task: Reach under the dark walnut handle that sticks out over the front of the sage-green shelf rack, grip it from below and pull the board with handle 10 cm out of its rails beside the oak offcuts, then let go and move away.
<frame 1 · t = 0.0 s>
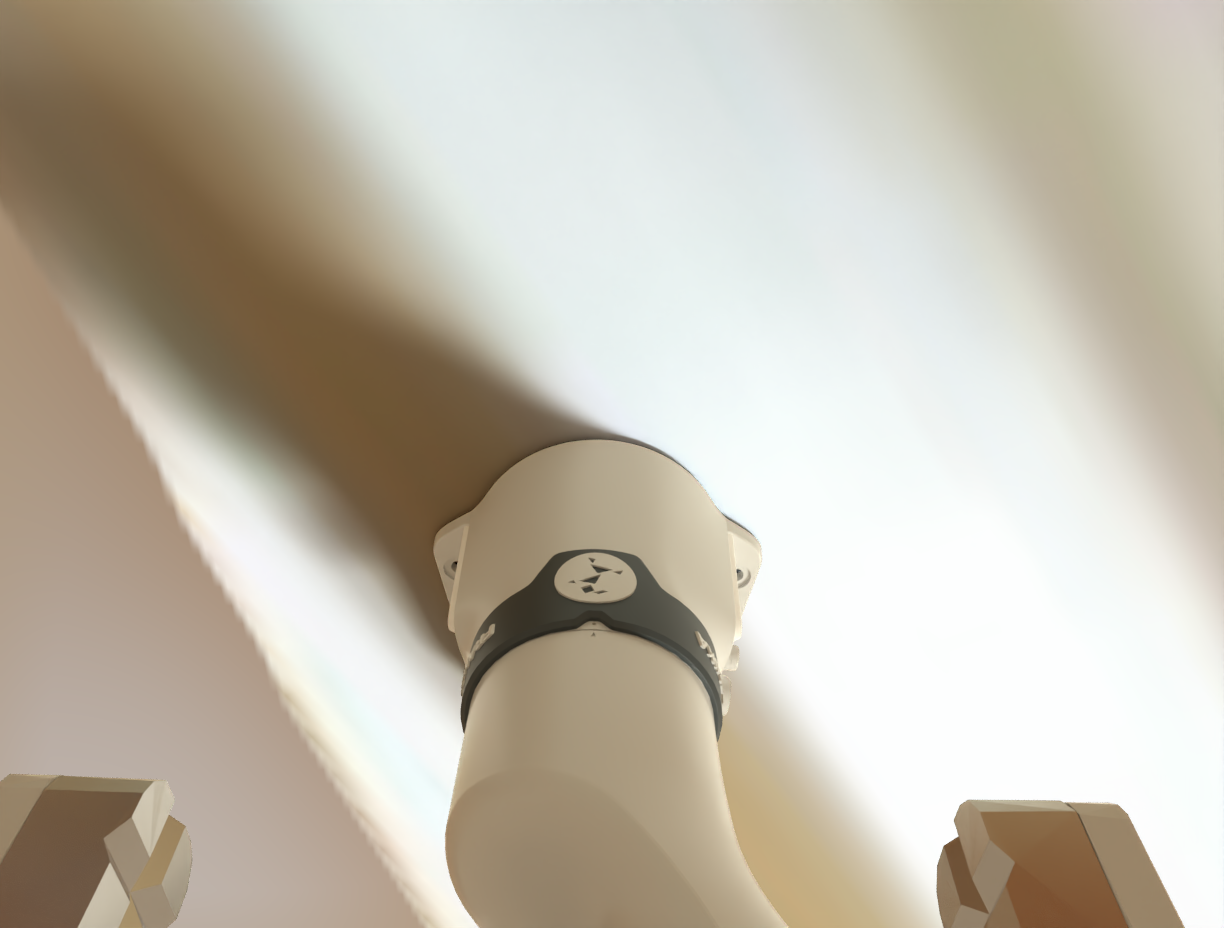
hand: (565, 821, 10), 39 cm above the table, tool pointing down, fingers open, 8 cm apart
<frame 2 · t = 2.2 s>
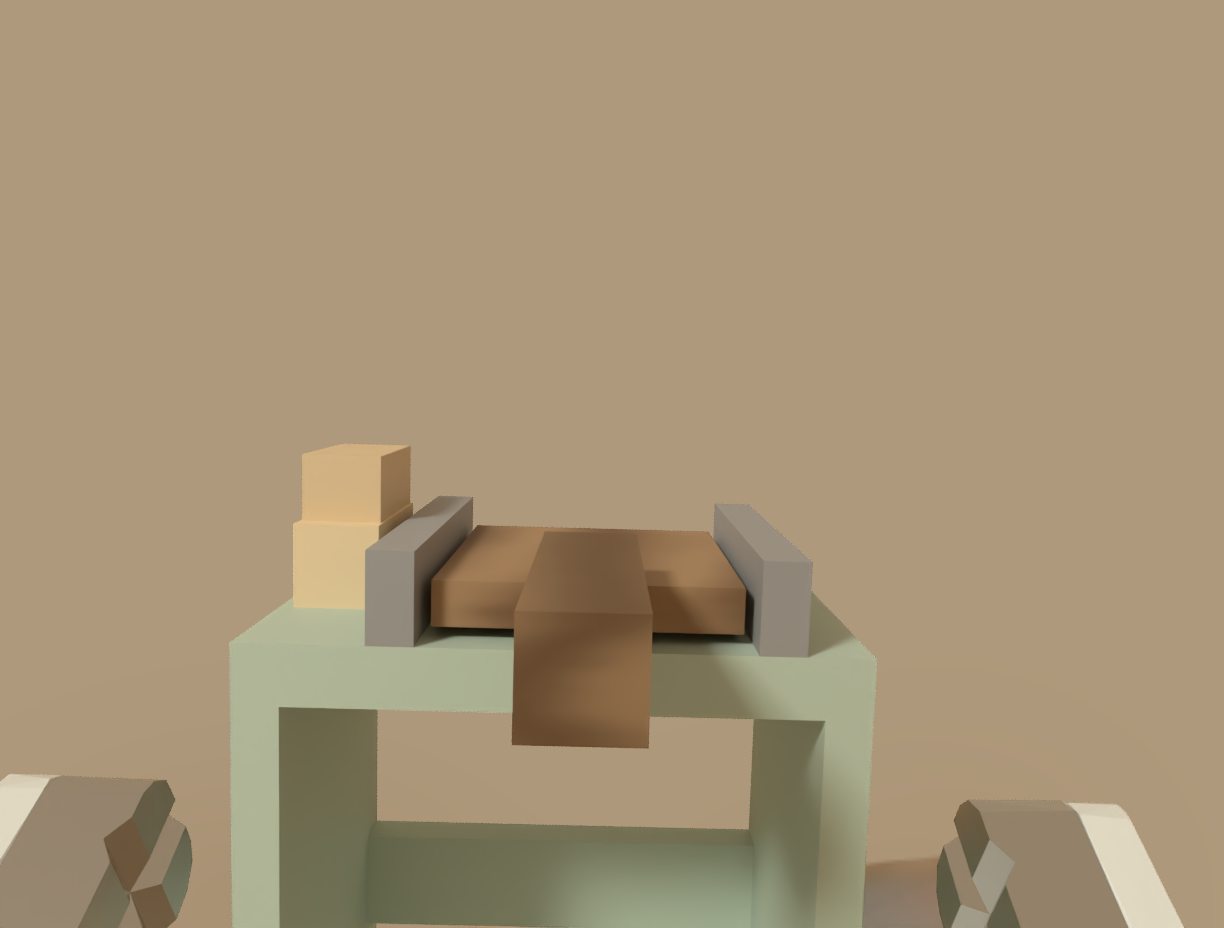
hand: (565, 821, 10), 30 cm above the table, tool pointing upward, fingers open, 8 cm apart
board with handle: (589, 579, 31), point 28 cm above the table, slide at 0.0 cm
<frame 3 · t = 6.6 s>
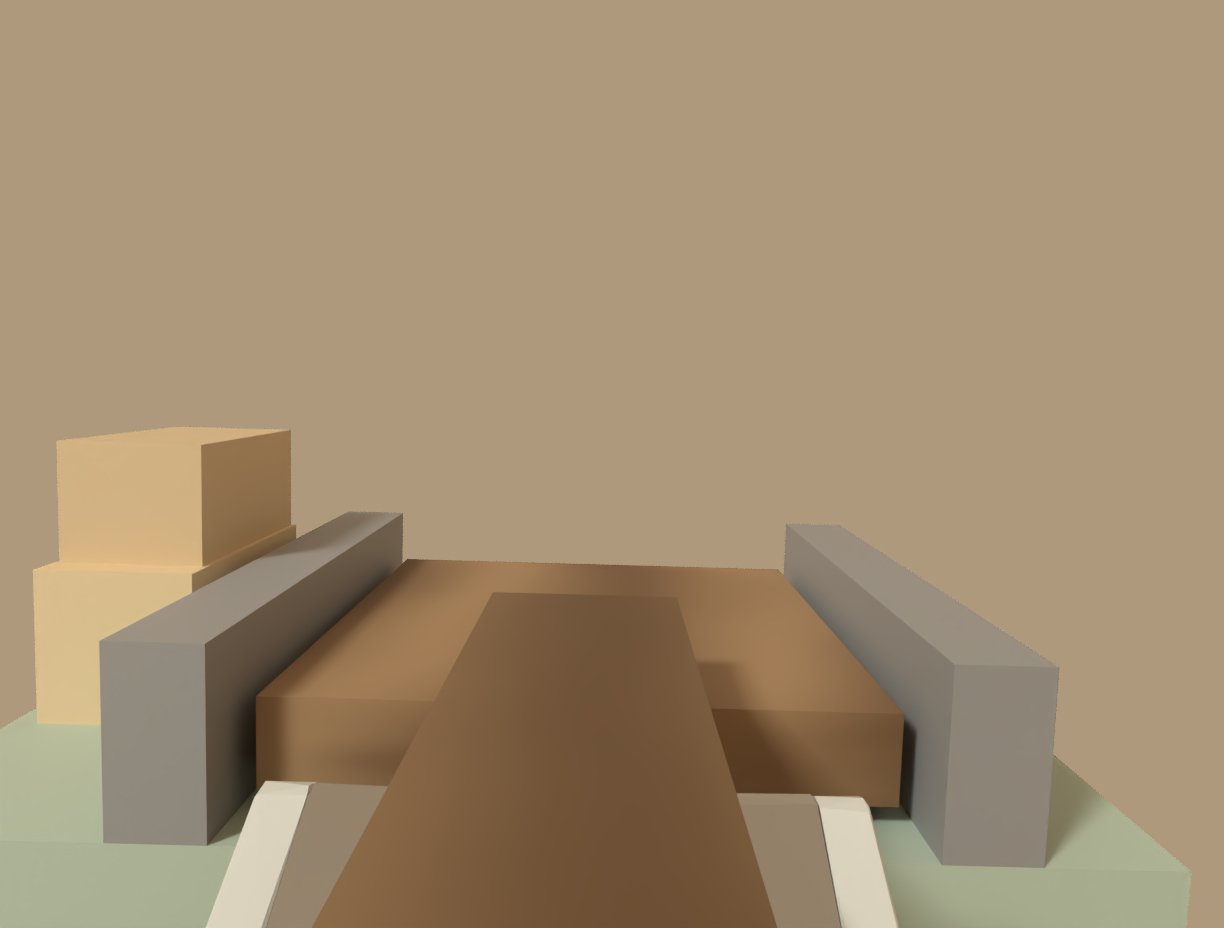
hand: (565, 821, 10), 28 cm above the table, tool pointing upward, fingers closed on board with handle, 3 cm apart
board with handle: (582, 689, 15), point 28 cm above the table, slide at 0.0 cm, touching gripper
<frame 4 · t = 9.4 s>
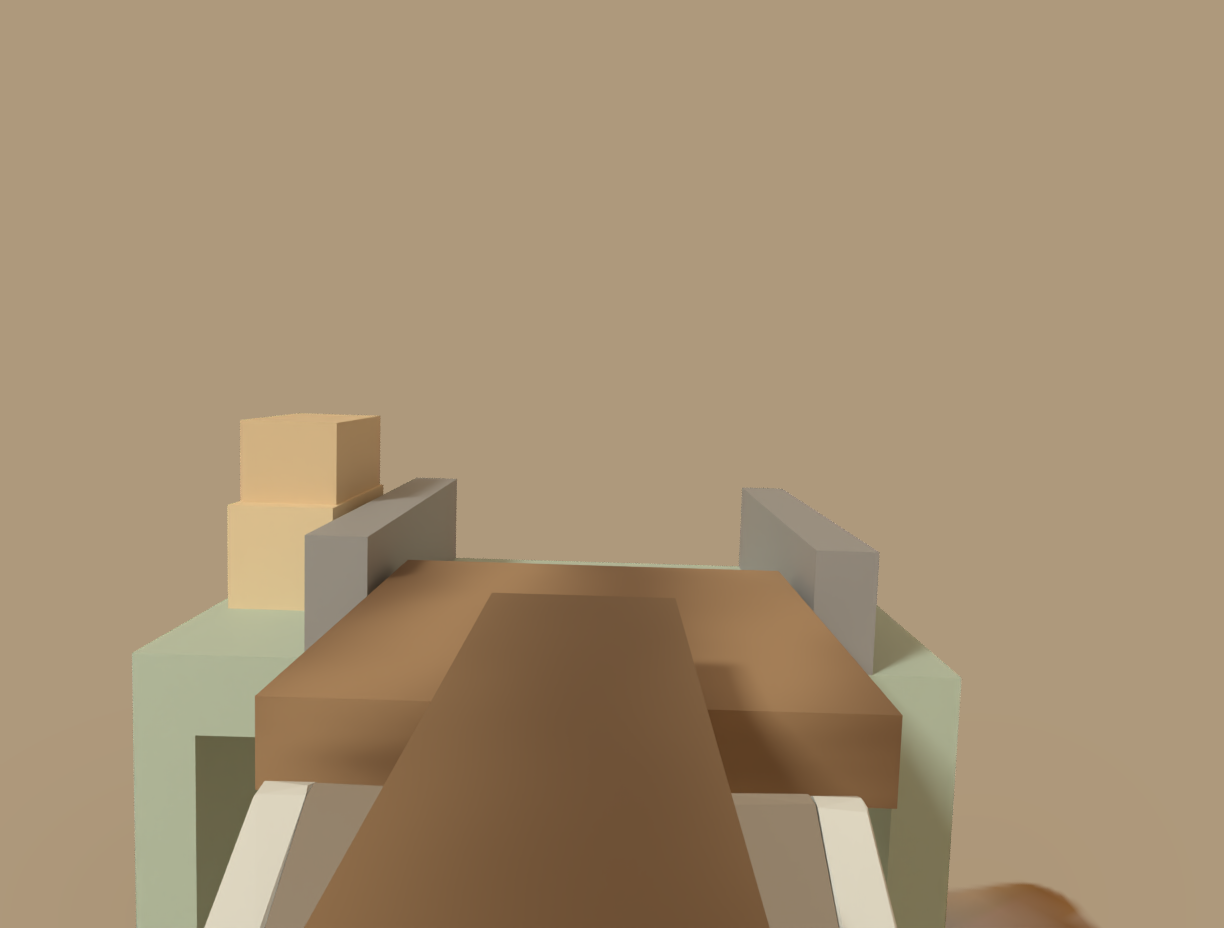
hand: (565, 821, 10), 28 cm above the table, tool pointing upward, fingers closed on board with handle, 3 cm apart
board with handle: (580, 689, 15), point 28 cm above the table, slide at 9.1 cm, touching gripper
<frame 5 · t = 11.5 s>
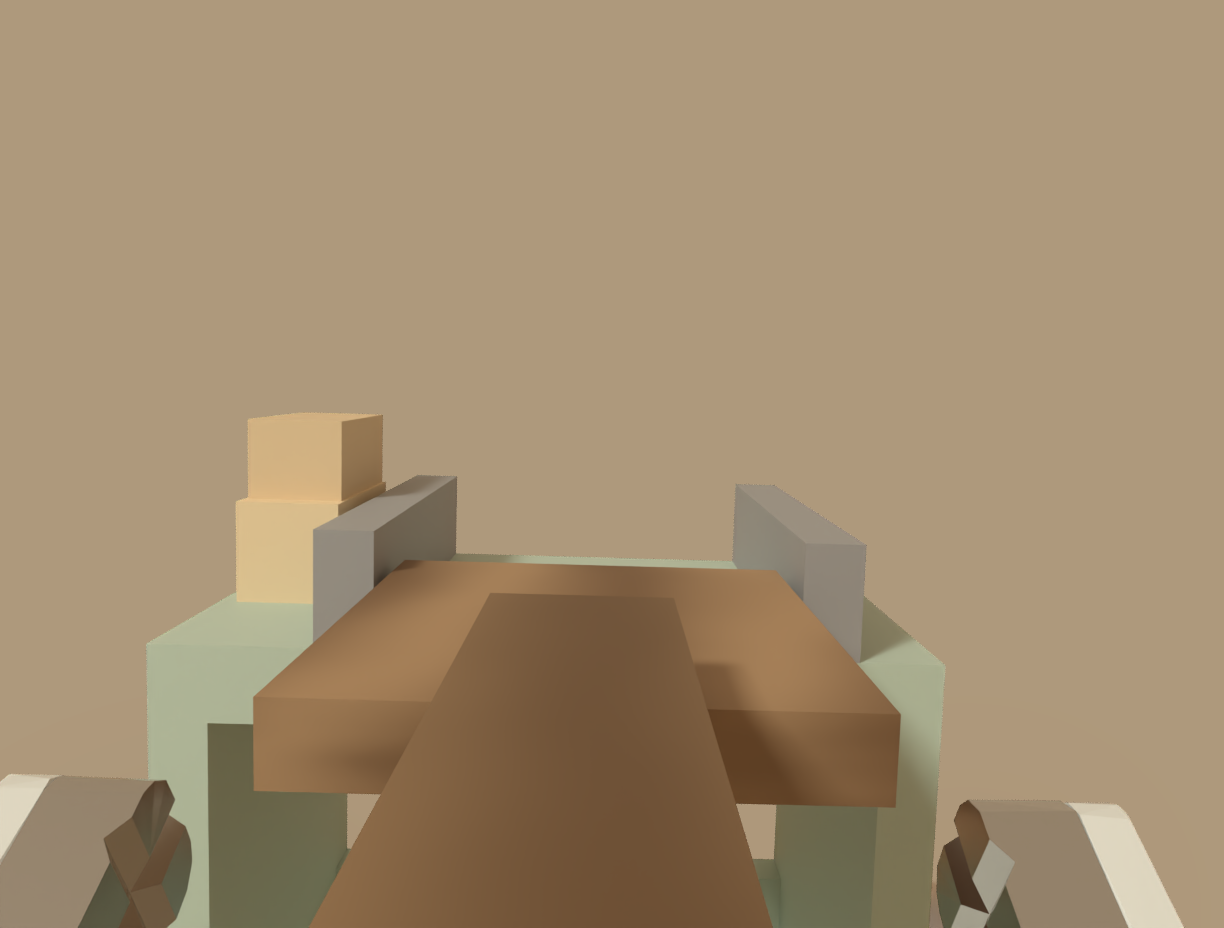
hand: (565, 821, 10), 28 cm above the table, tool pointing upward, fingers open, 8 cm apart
board with handle: (579, 689, 15), point 28 cm above the table, slide at 10.0 cm
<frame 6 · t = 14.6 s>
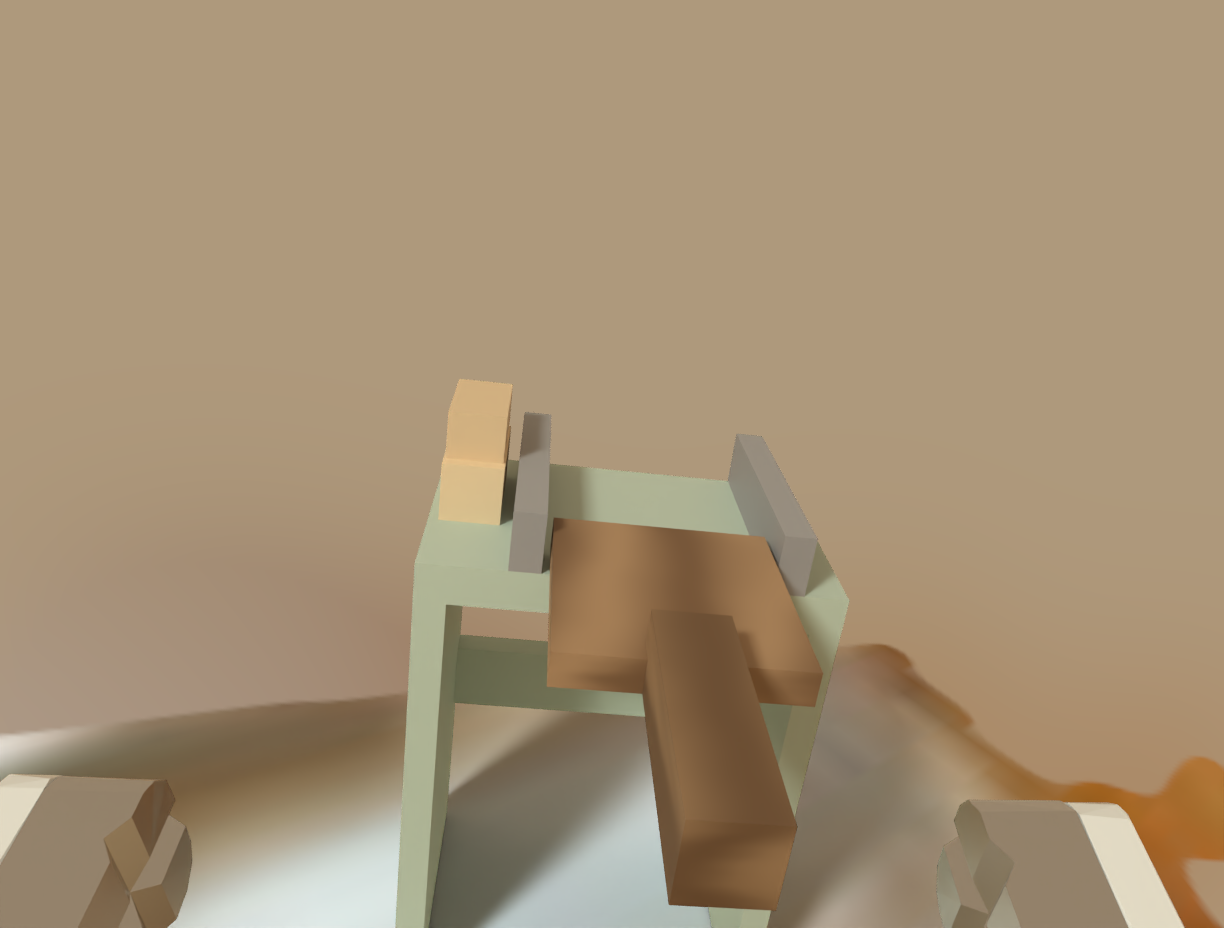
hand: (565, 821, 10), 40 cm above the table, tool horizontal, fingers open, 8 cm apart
rack: (572, 895, 59), on the table
board with handle: (686, 651, 35), point 28 cm above the table, slide at 10.0 cm
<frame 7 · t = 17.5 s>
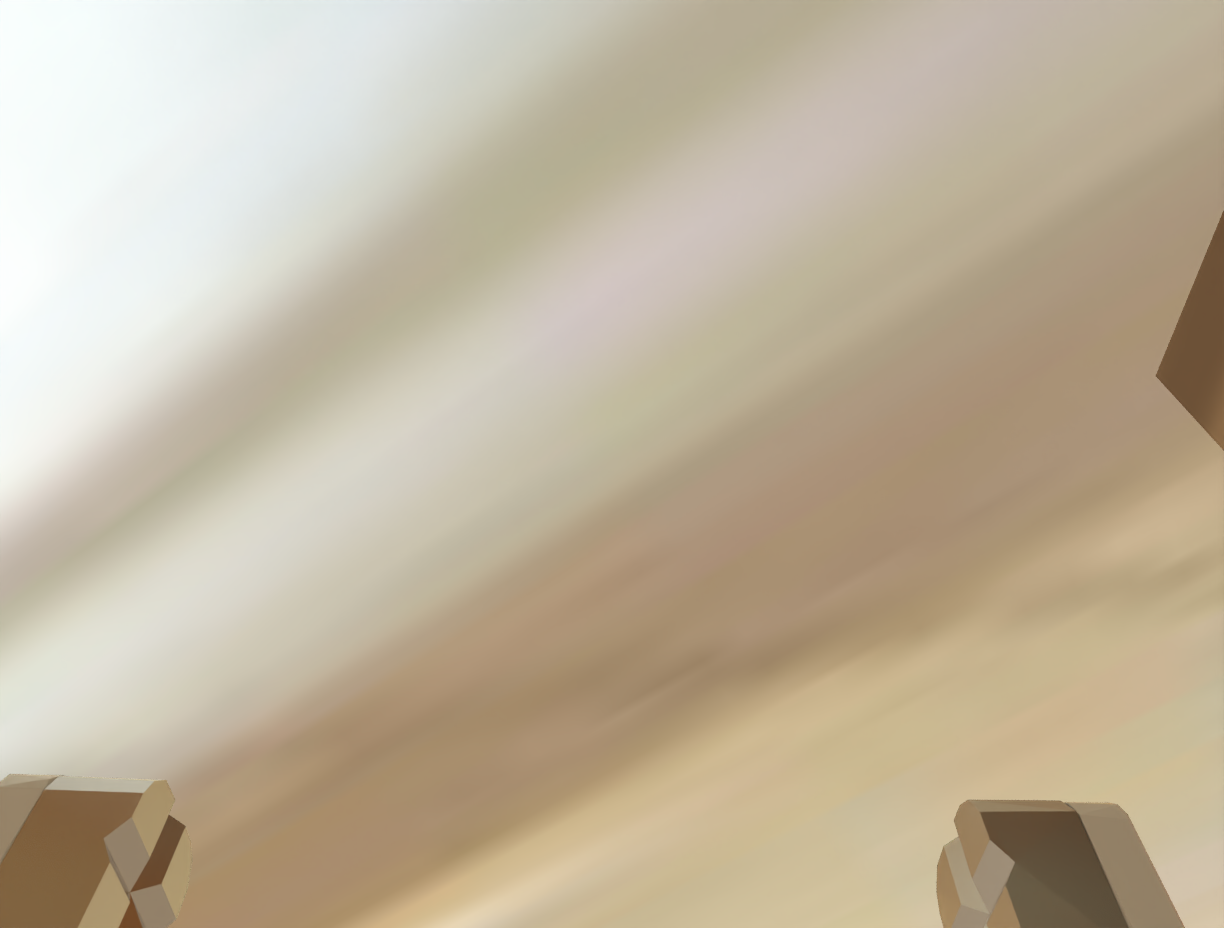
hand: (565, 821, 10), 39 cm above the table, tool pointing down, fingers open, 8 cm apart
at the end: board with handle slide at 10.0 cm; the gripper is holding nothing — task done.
